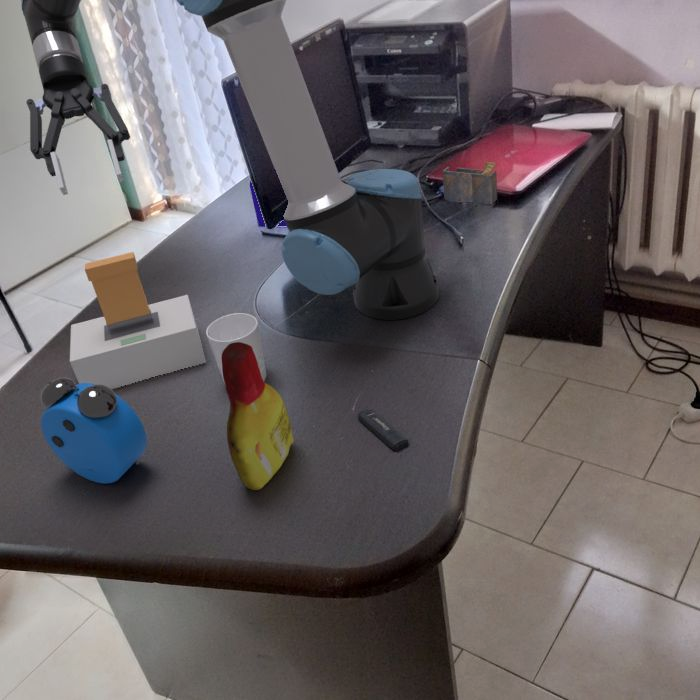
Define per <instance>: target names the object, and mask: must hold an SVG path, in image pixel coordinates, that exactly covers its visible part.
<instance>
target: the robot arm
mask: <svg viewBox="0 0 700 700" xmlns="http://www.w3.org/2000/svg"><path fill="white" fill-rule="evenodd" d="M81 2H82V0H20V4H21V5H20V7H21V12H22V14H23V17H24V20H25V22H26V27H27V31H28V34H29V38H30V41H31V45H32V51H33V54H34V58H35V62H36V66H37V68H38V73H39V78H40V82H41V85H42V89H43V94H42V96H41V97H42V98H40V99H39V98H38V99H36V100H33V99H32V98H28V99H26V102H25V103H26V105H27V108H28V110H29V137H30V138H29V141H30V143H29V144H30V145H29V146H30V147H29V148H30V149H29V150H30V153H32V155H33V157H34V158H35V159H36V160H41V159H44V161H45V165H46V168H47V172H48V174H49V175H50V176H51V177H56V181H57V185H58V189H59V190H60V191H61V193H62V195H63V196H65V195H69V193H68V189H67V185H66V180H65V177H64V173H63V172H64V171H63V169H62V165H61V161H60V158H59V157H58V154H57V153H56V151H57V147H58V143H59V139H60V135H61V132H62V128H63V126H64V125H65V122H66V120H69V119H72V118H74V117H84V116H86V117H87V118H88V120H91V122H93V124H94V125H95V126H97V128H98V129H99V130H100V131H101V132H102V133H103V134H104V135H105V136H106V137H107V140H106V142H107V144H108V149H109V151H110V156H111V159H112V160H111V161H112V163H113V166H114V171H115V174H116V177H117V179H118V182H119V183H122V182H125V179H124V176H123V172H122V168H121V164H120V162H123V161H125V157H126V156H125V153H124V149H123V147H122V143H123V142H124V141H128V140H130V139H131V135H130V132H129V130H128V127H127V125H126V124H125V121H124V120H123V117H122V116H121V114H120V112H119V111H118V109H117V106H116V105H115V103H114V102H113V99H112V98H113V97H112V93H111V90H110V88H109V85H108V84H107V83H102V84H101V86H100V87H93V86H92V85H91V84H90V83H89V78H88V74H87V70H86V67H85V65H84V63H83V62H84V61H83V57H82V53H81V48H80V45H79V41H78V37H77V35H76V30H75V26H74V19H75V17H76V14H77V12H78V10H79V6H80V3H81ZM176 2H177V3H178V5H179V6H183V8H184V10H185V11H187V12H188V13H190V14H192V15H195V16H200V17H201V20H202V21H203V23H204V26H205V29H206V32H208V33H210V34H212V35H214V36H216V37H218V38H219V39H221V41H223V43H224V46H225V48H226V50H227V53H228V56H229V58H230V61H231V63H232V65H233V68H234V71H235V74H236V76H237V78H238V81H239V83H240V87H242V88H241V89H242V91H243V93H244V95H245V99H246V100H247V102H248V105H249V108H250V110H251V113H252V116H253V118H254V120H255V123H256V125H257V128H258V130H259V133H260V135H261V137H262V140H263V143H264V145H265V148H266V150H267V153H268V155H269V157H270V160H271V163H272V166H273V169H275V170H276V173H277V175H278V178H279V180H280V183H281V185H282V188H283V190H284V193H285V195H286V198H287V200H288V205H287V208H286V210H285V213H284V215H283V217H284V220H285V222H286V225H287V227H286V228H287V230H288V233H287V234H286V236H285V237H284V238H283V241H282V244H281V245H282V246H281V256H282V259H283V262H284V264H285V266H286V268H287V270H288V271H289V272H290V274H291V276H293V277H294V279H295V280H296V281H297V282H299V283H300V284H301V285H302V286H305V287H306V288H307V289H308V290H310V291H312V292H314V293H317V294H320V295H324V296H325V295H327V296H332V295H337V294H339V293H341V292H343V291H344V290H346V289H347V288H349V287H351V286H353V290H352V292H353V293H352V296H353V302H354V306H355V309H356V310H357V311H358V312H359V313H361V314H362V315H363V316H367V317H369V318H371V319H376V320H385V321H389V320H390V321H395V320H397V321H398V320H402V319H403V320H404V319H408V318H413V317H416V316H419V315H421V314H422V313H425V312H427V311H429V310H430V309H431V308H433V306H435V305H436V303H437V302H438V300H439V297H440V291H439V283H438V278H437V276H436V275H435V272H434V271H433V267H432V266H431V263H430V260H429V259H428V256H427V254H426V242H425V230H424V217H423V206H422V204H423V202H422V199H423V195H422V194H421V193H422V192H421V188H420V181H419V179H418V177H416V175H414V173H411V172H409V171H407V170H402V169H395V168H378V169H375V168H374V169H369V170H364V171H360V172H357V173H354V174H353V175H351V176H350V177H349V178H348V180H347V183H344V182H343V181H342V179H341V177H340V174H339V171H338V168H337V166H336V162H335V160H334V158H333V155H332V151H331V149H330V147H329V144H328V141H327V138H326V135H325V133H324V130H323V128H322V125H321V123H320V120H319V116H318V114H317V111H316V108H315V106H314V103H313V101H312V97H311V94H310V92H309V90H308V86H307V84H306V81H305V79H304V75H303V73H302V70H301V68H300V64H299V62H298V60H297V56H296V54H295V50H294V49H293V45H292V43H291V40H290V38H289V35H288V32H287V29H286V26H285V24H284V21H283V19H282V14H283V11H284V8H285V5H286V2H287V0H176ZM95 97H97V98H98V100H99V101H101V102H104V105H105V107H106V109H107V111H108V113H109V114H110V117H111V118H112V121H113V122H114V124H115V125H116V128H117V129H118V131H117V130H115V129H113V126H111V125H110V124H109V123H108V122H107V121H106V119H104V117H103V116H102V115H101V114H100V113H99V112H98V111H97V110H96V109H95V108H94V106H93V105H92V103H93V100H94V99H95ZM45 107H47V108H48V109H49V110H51V112H50V116H51V117H50V120H49V122H48V123H49V124H48V127H47V132H46V135H45V139H44V141H43V119H42V116H41V115H43V114H44V108H45Z"/></svg>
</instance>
